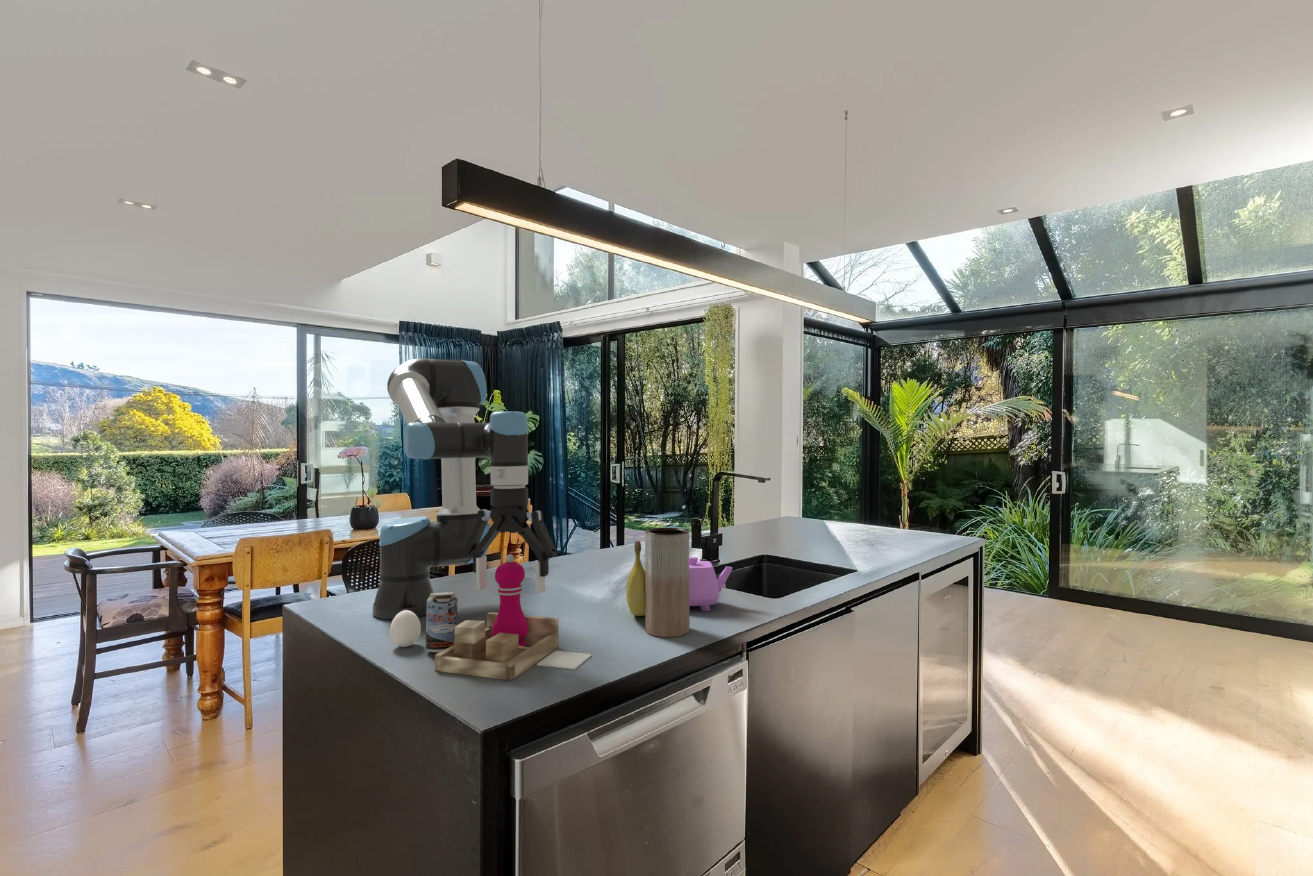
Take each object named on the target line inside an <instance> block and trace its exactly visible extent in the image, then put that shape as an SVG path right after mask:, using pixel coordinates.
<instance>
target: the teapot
mask: <svg viewBox="0 0 1313 876" xmlns="http://www.w3.org/2000/svg"><path fill="white" fill-rule="evenodd" d="M732 571H733V567H732V566H725V567H724V569H723V570H722V572H721V573H720V574H719V575H718V577H717V574H716V572H715V568H714V566H713V564H712V562H711V561H708V560H699V558H698V556H689V602H690V607H699V608H700V611H703V612H705V611H706V612H708V611H709V612H710V611H711V607H710V606H713V605H716V604H717V602H718V600H719V595H720V594H719V593H721V591H722V589H723V588H724V586H725V584H726V582H727V580H728V579H729V577H730V575H731V572H732Z"/></svg>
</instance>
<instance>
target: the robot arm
mask: <svg viewBox="0 0 1313 876" xmlns="http://www.w3.org/2000/svg"><path fill="white" fill-rule="evenodd" d="M386 386H387V387H386V389H387V394H388V396H389V398H390V399H391V401H392V402H393V403H394V404H395V405H397V406H398V408H399V409H400V411H401V413H402V416H403V418H404V421H405V424H406V425H405V426H404V430H403V447H404V453H405V455H406V457H408V458H409V459H414V460H415V459H417V460H418V459H421V460H424V461H425V460H431V459H434V460H436V459H440V460H441V461H440V462H441V495H442V496H441V497H442V499H441V500H442V501H441V502H442V503H441V504H442V507H441V508H440V509H439V510H438V511H437V513H436V521H431V520H430V519H429V517H428V516H424V515H421V516H412V517H405V518H400V519H395V520H392V521H389V522H387V523H385V524H384V525H382V526H381V528H380V534H379V542H378V545H379V584H378V585H379V586H378V588H377V589H378V590H377V591H376V594H375V598H374V602H373V604H372V616H373V615H374V616H375V618H376V619H381V620H393V619H394V618H395V616H396V615H397V614H398V613H399V612H401V611H404V610H409V611H412V612H413V613H415V614H416V616H417V617H418V618H420V617H423V616H426V614H427V600H428V598H429V597H430V594H431V593H435V590H434V588H433V585H432V582H431V579H430V569H431V568H434V567H435V568H436V567H445V566H446V567H447V566H455V565H468V564H472V570H473V573H475V575H476V577H475V579H476V581H475V584H476V590H477V591H481V590H483V589H485V588H487V587H488V582H487V581H488V576H487V573H488V572H487V569H488V568H487V567H488V564H487V563H488V562H487V558H488V557H487V553H488V550H489V547H490V546H491V544H492V543H493V542H494V541H495V539H496V538H497V537H498V535H499V533H507V532H508V533H510V534H515V533H517V534H518V535H519V536H520V537H521V538H523V541H525V543H526V544H527V546H528V547H529V548H530V549H531V551H532V552H533V554H534V555H535V556H536V557H537V560H535V561H534V579H535V580H534V581H535V582H534V583H535V584H534V587H535V590H534V591H535V595H540V594H542V593H544V592H546V577H547V576H549V566H550V565H549V560H550V559H551V558H554V557H556V556H557V555H558V550H557V548H556V546H555V543H554V542H553V539H552V537H551V535H550V533H549V530H548V528H547V526H546V524H545V522H544V517H543V511H542V510H539V509H538V510H534V511H530V512H529V510H528V505H529V488H528V487H526V485H527V486H528V484H529V465H528V464H529V463H528V462H529V460H528V459H529V458H528V457H529V455H528V454H529V451H528V446H529V444H528V443H529V442H528V441H529V440H528V434H529V433H528V432H529V427H528V416H527V414H526V413H525V412H523V411H493V412H492V413H491V414H490V415H489V422H475V416H476V415H477V413H478V412H479V411H480V409H481V408H480V406H481V405H483V404H484V403H486V399H487V391H488V390H487V381H486V377H485V373H484V371H483V369H482V366H481V365H479V363H478V362H475V361H469V360H464V359H441V358H425V357H420V358H419V357H418V358H413V359H409V360H407V361H404V362H403V363H401V364H399V365H398V366H397V367H396V368H394V369H393V371H392V372H391V373H390V375H389V377H388V380H387V383H386ZM477 458H489V459H490V464H489V465H490V485H491V486H492V488H491V490H490V506H491V510H489V509H487V508H484V509H480V508H479V507H478V506H477V489H476V488H477V486H476V485H477V484H476V481H477V480H476V478H477V477H476V459H477ZM490 519H491V520H492V522H493V523H492V524H491V525H490ZM528 521H530V522H531V523H532V526H533V529H534V531H535V533H536V535H537V536H536V535H535V533H534V532H533V531H532V528H531V526H530V525H529V524H528ZM374 616H373V617H374Z"/></svg>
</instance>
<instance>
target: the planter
mask: <svg viewBox="0 0 1313 876" xmlns="http://www.w3.org/2000/svg"><path fill="white" fill-rule="evenodd" d="M689 557H690V531H689V530H688V529H687V528H683V527H681V528H680V527H653V528H649V529H646V530H645V531H644V570H645V615H644V618H645V623H644V625H645V632H646V633H647V634H648V635H651V636H655V637H659V638H677V637H680V636H683V635H686V634H688V633H689V632H690V619H691V618H690V617H691V616H690V607H691V606H690V602H689Z"/></svg>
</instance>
